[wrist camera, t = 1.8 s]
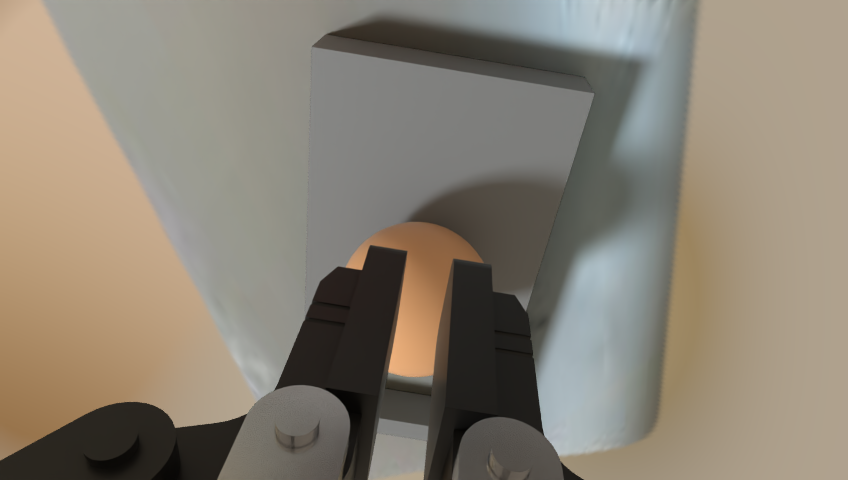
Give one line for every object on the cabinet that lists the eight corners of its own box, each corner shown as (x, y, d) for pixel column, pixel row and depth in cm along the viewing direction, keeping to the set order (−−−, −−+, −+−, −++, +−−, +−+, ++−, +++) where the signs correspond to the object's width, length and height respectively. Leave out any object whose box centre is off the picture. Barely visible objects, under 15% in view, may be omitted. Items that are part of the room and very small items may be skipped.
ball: (359, 184, 26) (325, 268, 20) (504, 207, 26) (513, 298, 20) (350, 297, 29) (318, 396, 23) (476, 318, 29) (476, 422, 24)
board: (325, 34, 24) (311, 46, 22) (584, 77, 25) (594, 93, 22) (311, 391, 37) (302, 421, 35) (481, 419, 37) (482, 450, 35)
